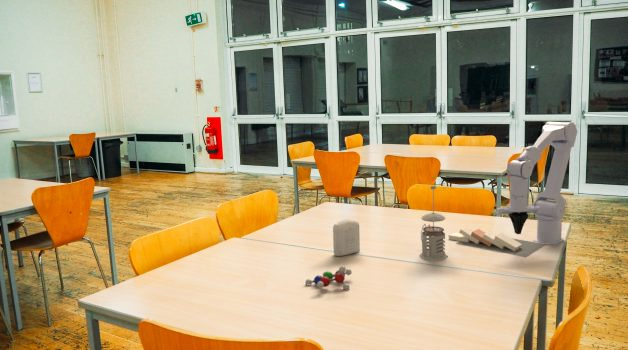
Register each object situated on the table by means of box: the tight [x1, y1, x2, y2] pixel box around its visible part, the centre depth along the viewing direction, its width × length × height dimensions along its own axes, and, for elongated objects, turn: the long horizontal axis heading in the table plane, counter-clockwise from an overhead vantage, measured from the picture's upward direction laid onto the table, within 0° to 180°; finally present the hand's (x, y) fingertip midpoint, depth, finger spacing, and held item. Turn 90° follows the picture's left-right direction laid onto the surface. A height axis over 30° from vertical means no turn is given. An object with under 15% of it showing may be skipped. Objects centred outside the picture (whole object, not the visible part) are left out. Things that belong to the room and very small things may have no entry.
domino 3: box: [482, 230, 506, 249], centre depth 184 cm, size 5×2×8 cm
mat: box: [456, 237, 548, 258], centre depth 186 cm, size 18×26×1 cm
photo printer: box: [332, 219, 361, 257], centre depth 183 cm, size 10×4×12 cm, turn 123°
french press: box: [419, 185, 449, 262], centre depth 174 cm, size 10×12×25 cm
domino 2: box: [458, 226, 481, 244], centre depth 190 cm, size 5×2×8 cm
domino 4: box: [494, 232, 522, 251], centre depth 181 cm, size 5×2×8 cm
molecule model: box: [305, 265, 353, 290], centre depth 155 cm, size 15×7×14 cm
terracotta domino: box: [471, 228, 494, 247], centre depth 187 cm, size 5×2×8 cm
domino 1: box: [448, 231, 471, 242], centre depth 193 cm, size 5×2×8 cm
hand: (517, 233), depth 178 cm, fingers closed
